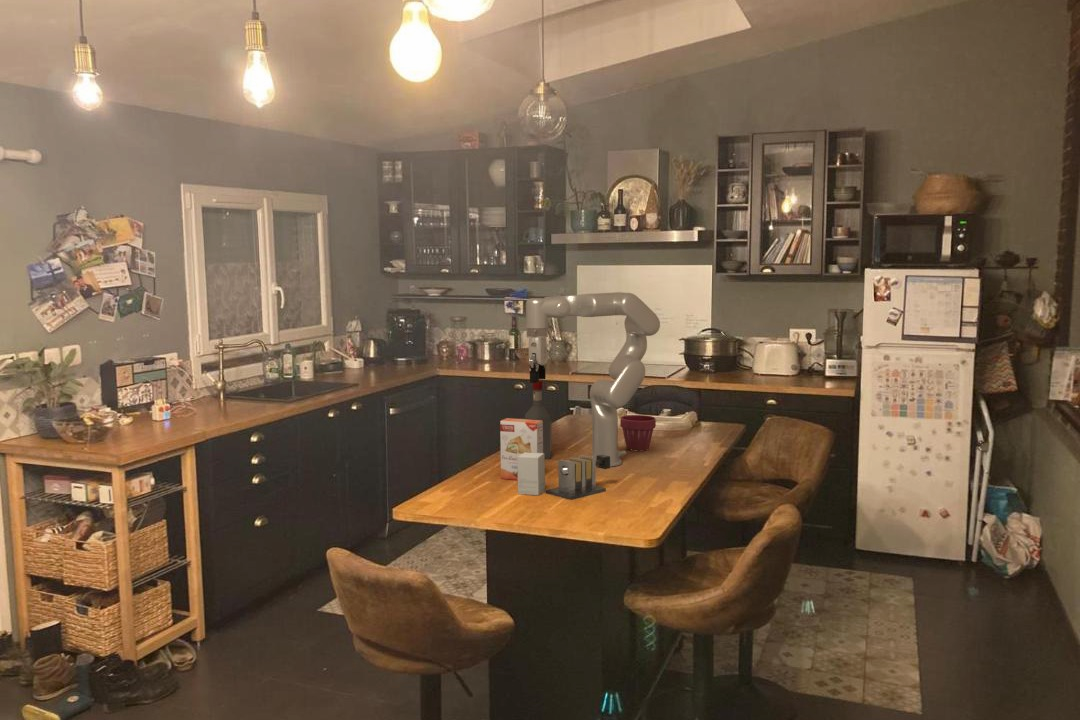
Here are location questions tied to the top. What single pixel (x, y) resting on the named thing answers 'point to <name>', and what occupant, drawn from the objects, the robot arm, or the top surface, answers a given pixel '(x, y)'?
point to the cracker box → (518, 443)
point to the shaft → (601, 462)
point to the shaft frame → (567, 481)
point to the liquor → (541, 418)
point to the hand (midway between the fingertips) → (537, 380)
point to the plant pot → (637, 431)
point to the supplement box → (531, 473)
